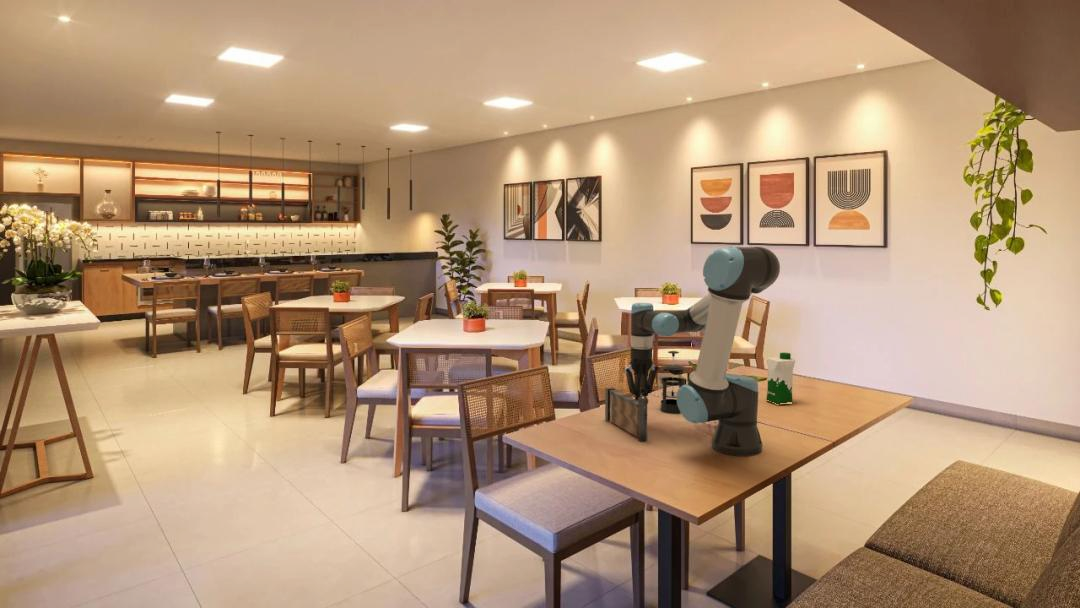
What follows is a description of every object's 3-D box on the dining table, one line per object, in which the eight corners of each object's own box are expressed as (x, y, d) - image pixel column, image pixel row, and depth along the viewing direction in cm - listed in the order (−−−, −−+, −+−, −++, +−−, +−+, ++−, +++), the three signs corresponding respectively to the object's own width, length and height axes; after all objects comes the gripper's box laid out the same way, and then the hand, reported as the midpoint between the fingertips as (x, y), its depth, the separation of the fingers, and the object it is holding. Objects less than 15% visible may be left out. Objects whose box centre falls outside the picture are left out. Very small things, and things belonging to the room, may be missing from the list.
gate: (642, 436, 206) (643, 403, 205) (636, 437, 205) (636, 404, 204) (615, 420, 224) (615, 389, 223) (609, 420, 224) (609, 390, 222)
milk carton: (796, 404, 246) (797, 355, 244) (776, 406, 243) (778, 356, 241) (781, 399, 254) (782, 351, 252) (762, 401, 252) (764, 352, 250)
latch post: (615, 420, 226) (615, 388, 224) (607, 421, 225) (607, 389, 223) (612, 419, 227) (612, 387, 226) (605, 420, 226) (605, 388, 225)
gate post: (649, 441, 202) (650, 396, 201) (640, 442, 201) (641, 397, 200) (644, 438, 206) (645, 394, 204) (635, 439, 205) (635, 395, 203)
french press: (671, 415, 232) (672, 354, 230) (653, 409, 240) (654, 351, 238) (693, 410, 239) (694, 351, 236) (675, 405, 247) (676, 347, 244)
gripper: (652, 344, 222) (651, 408, 224) (619, 346, 217) (618, 412, 220) (663, 347, 215) (662, 414, 217) (629, 350, 210) (628, 418, 213)
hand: (640, 413), depth 219 cm, fingers closed
